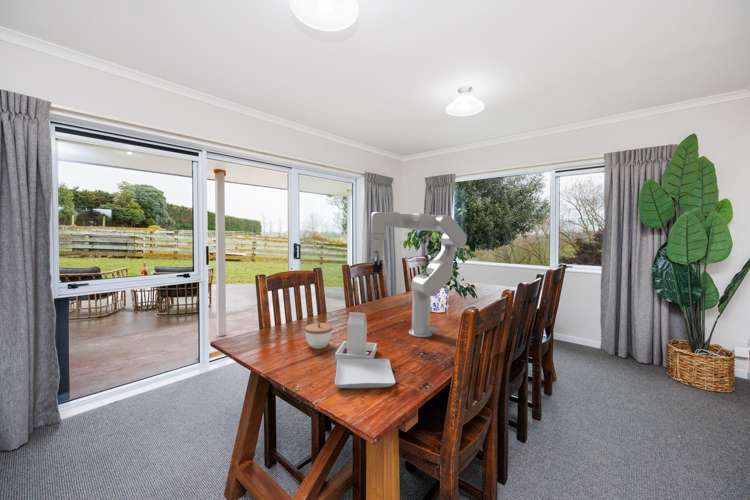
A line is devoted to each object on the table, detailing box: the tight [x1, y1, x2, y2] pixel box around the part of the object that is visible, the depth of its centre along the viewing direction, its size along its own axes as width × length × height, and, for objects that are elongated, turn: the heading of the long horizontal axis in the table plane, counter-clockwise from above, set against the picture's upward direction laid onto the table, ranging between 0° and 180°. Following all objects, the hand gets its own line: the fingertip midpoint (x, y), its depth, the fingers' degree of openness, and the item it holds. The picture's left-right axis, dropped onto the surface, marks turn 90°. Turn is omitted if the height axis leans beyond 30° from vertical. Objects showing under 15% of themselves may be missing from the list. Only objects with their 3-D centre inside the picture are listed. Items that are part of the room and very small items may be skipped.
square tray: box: [334, 340, 378, 363], centre depth 140 cm, size 15×15×4 cm
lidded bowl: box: [304, 322, 333, 350], centre depth 151 cm, size 13×13×11 cm
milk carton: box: [346, 311, 368, 355], centre depth 139 cm, size 7×7×19 cm
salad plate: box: [334, 358, 396, 389], centre depth 120 cm, size 21×21×3 cm
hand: (377, 271), depth 161 cm, fingers open, 9 cm apart
